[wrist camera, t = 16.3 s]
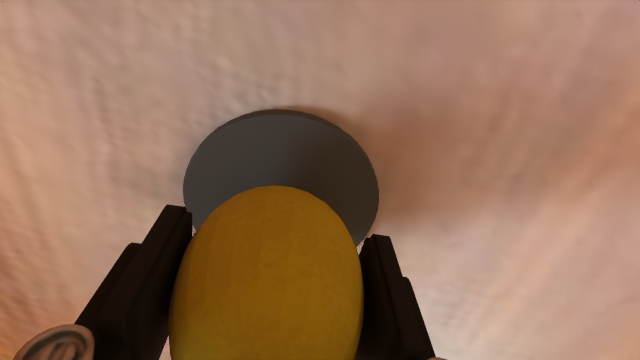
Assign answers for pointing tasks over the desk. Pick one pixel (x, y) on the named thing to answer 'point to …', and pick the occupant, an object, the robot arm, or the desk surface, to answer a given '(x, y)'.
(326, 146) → the coaster
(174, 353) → the lemon
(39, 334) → the robot arm
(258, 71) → the desk surface
